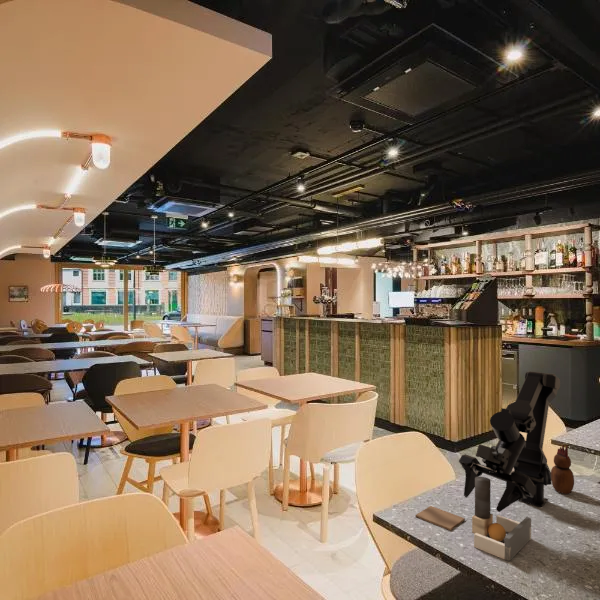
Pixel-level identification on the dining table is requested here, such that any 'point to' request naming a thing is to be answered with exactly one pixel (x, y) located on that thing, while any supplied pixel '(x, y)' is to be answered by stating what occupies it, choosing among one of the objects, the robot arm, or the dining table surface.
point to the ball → (496, 532)
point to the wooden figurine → (562, 472)
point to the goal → (506, 538)
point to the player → (482, 507)
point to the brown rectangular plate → (440, 518)
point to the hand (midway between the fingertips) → (480, 503)
